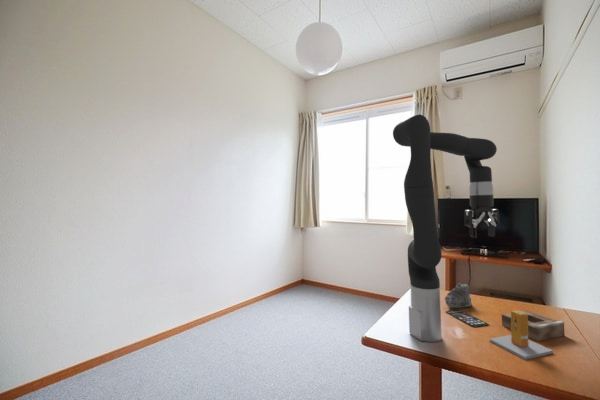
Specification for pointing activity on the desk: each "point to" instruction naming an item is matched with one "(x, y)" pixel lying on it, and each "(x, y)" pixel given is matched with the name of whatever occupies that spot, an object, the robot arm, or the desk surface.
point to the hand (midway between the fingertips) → (482, 236)
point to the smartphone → (467, 318)
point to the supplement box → (519, 328)
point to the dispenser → (538, 326)
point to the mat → (521, 348)
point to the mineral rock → (459, 296)
